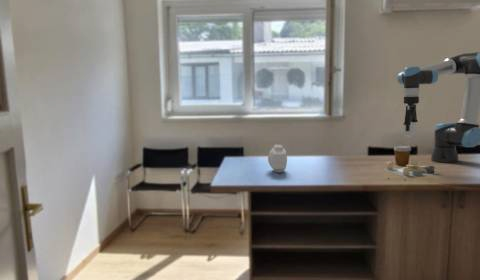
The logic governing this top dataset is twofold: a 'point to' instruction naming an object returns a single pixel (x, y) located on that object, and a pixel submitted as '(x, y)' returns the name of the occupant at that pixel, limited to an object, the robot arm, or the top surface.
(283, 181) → the top surface
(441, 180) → the top surface
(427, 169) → the stool leg
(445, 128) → the robot arm
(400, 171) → the board
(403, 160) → the disposable coffee cup
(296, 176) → the top surface
